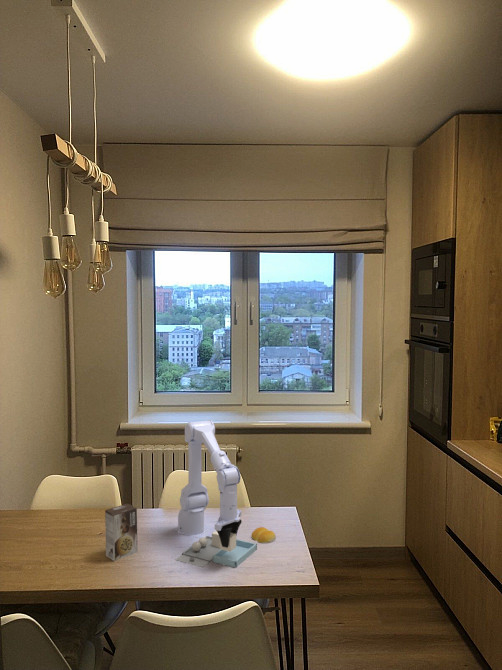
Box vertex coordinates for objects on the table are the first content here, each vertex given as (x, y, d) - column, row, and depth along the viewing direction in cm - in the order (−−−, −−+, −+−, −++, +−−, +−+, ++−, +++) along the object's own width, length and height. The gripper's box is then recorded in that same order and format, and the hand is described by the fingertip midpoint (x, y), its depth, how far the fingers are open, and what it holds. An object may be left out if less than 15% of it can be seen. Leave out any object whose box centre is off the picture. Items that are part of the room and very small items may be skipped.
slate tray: (174, 561, 175) (174, 556, 174) (206, 538, 192) (206, 534, 192) (203, 568, 169) (203, 564, 169) (234, 544, 187) (234, 540, 187)
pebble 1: (190, 551, 180) (190, 542, 180) (195, 548, 183) (195, 539, 183) (197, 553, 179) (197, 544, 179) (203, 550, 182) (203, 541, 181)
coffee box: (128, 547, 185) (127, 502, 184) (138, 553, 180) (137, 507, 179) (104, 555, 178) (104, 509, 178) (114, 562, 174) (114, 514, 173)
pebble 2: (196, 547, 184) (196, 538, 184) (201, 543, 187) (201, 535, 186) (204, 549, 182) (204, 540, 182) (209, 545, 185) (209, 536, 185)
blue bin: (212, 563, 173) (212, 555, 173) (234, 545, 186) (234, 538, 186) (235, 569, 169) (235, 561, 169) (256, 550, 182) (256, 543, 182)
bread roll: (264, 547, 186) (264, 536, 185) (248, 539, 192) (248, 528, 192) (280, 540, 191) (280, 529, 191) (264, 533, 198) (264, 522, 198)
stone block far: (211, 545, 185) (211, 533, 185) (217, 541, 189) (217, 529, 188) (221, 548, 183) (221, 535, 183) (227, 543, 187) (227, 531, 186)
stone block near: (219, 549, 173) (219, 535, 172) (226, 544, 176) (226, 531, 176) (230, 551, 171) (230, 538, 171) (236, 547, 174) (236, 533, 174)
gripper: (227, 513, 165) (227, 555, 165) (249, 499, 177) (249, 538, 178) (209, 509, 168) (209, 550, 168) (231, 495, 181) (231, 534, 181)
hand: (228, 544), depth 173 cm, fingers closed on stone block near, 4 cm apart
